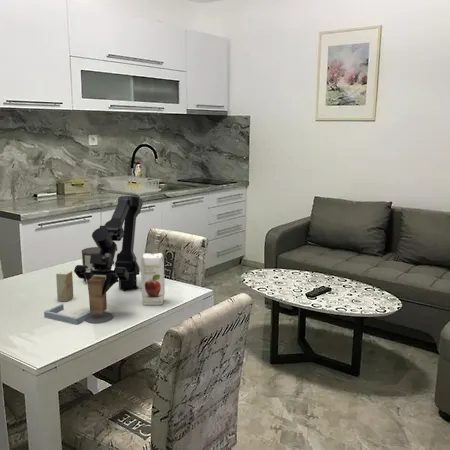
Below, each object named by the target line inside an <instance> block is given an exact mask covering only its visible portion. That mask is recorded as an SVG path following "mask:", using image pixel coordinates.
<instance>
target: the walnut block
mask: <svg viewBox="0 0 450 450" xmlns="http://www.w3.org/2000/svg"><path fill="white" fill-rule="evenodd" d="M105 281H106V277H99V276H93V277H92V278H90V279H89V280H88V284H87V286H88V285H89V292H88V300H89V301H88V302H89V311H90V313H100V314H102V313H103V312H106V311H107V309H108V302H107V292H106V293H105V295H102V291H103V288H104V284H105Z"/></svg>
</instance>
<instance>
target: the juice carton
mask: <svg viewBox="0 0 450 450" xmlns="http://www.w3.org/2000/svg"><path fill="white" fill-rule="evenodd" d="M140 263H141V264H140V271H141V272H140V273H141V299H142V303H143V305H144V306H162V305H163V302H164V299H165V291H166V290H165V259H164V255H163V252H159V253H145V252H144V253H143V254H142V258H141V262H140Z"/></svg>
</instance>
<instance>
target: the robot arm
mask: <svg viewBox="0 0 450 450" xmlns="http://www.w3.org/2000/svg"><path fill="white" fill-rule="evenodd" d="M143 205H144V202H143V198H141V196H140V195H123V196H122V195H121V196H119V197H118V199H117V205H116V206H115V209H114V212H113V214H112V215H111V219H110V220H108V221H106V222H105V224H104V225H99V227H98V228H96V229H95V230H94V231H93V232H92V234H91V237H92V240H93V241H94V243H95V245H96V247H99V248H100V251H99V254H97V255H94V254H91V256H90V264H92V266H93V267H94V268H95V269H90V268H88V267H87V265H83V264H77V265H75V267H74V269H73V272H74V274H75V275H76V276H77V278H79V279H87V282H88V280H89V279H90V278H92V277H93V276H94V275H106V281H105V284H104V288H103V291H102V295H105V293H106V294H107V292H108V291H109V290H110V289H111V288H112V287H113V286H114V285H115V284H116V283H118V288H119V289H120V290H122V291H123V292H125V291H132V290H137V289H139V286H138V284H137V283H138V282H137V281H138V280H137V276H139V275H140V271H141V266H139V264H138V262H137V257H136V255H135V253H134V246H135V245H134V244H135V236H136V235H135V234H136V223H137V217H138V215H140V213H142V212H141V211H142V207H143ZM121 240H122V242H121V243H122V245H121V251H120V252H119V253H118V252H117V251H118V245H117V243H116V242H120V241H121ZM116 252H117V254H116ZM115 256H116V259H115ZM114 260H115V261H114ZM113 265H114V269H112V267H113ZM87 289H88V290H87V291H88V293H89V285H88V284H87Z"/></svg>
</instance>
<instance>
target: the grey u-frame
mask: <svg viewBox="0 0 450 450" xmlns="http://www.w3.org/2000/svg"><path fill="white" fill-rule="evenodd" d="M64 309H65V308H64V303H60V304H58V305H55V306H53V307H50V309H47V310H44V311H43V317H44V318H47V319H51V320H56V321H60V322H64V323H69V324H73V325H79V324H81V323H83V322H86V321H85V319H87V318H89V317H91V316H93V313H90V310H89V311H87V312H85V313H83V314H81V315H79V316H77V317H75V316H70V315H67V314H62V313H60V312H61V311H64Z"/></svg>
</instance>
